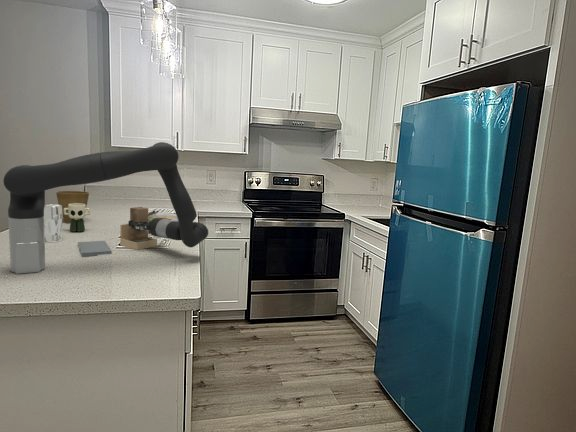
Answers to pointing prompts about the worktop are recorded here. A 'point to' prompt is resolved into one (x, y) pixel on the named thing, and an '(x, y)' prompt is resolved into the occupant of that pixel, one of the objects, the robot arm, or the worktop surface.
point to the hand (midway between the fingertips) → (134, 222)
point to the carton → (130, 244)
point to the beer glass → (53, 222)
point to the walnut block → (138, 215)
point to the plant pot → (71, 200)
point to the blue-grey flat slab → (93, 248)
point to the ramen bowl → (163, 216)
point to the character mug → (77, 216)
